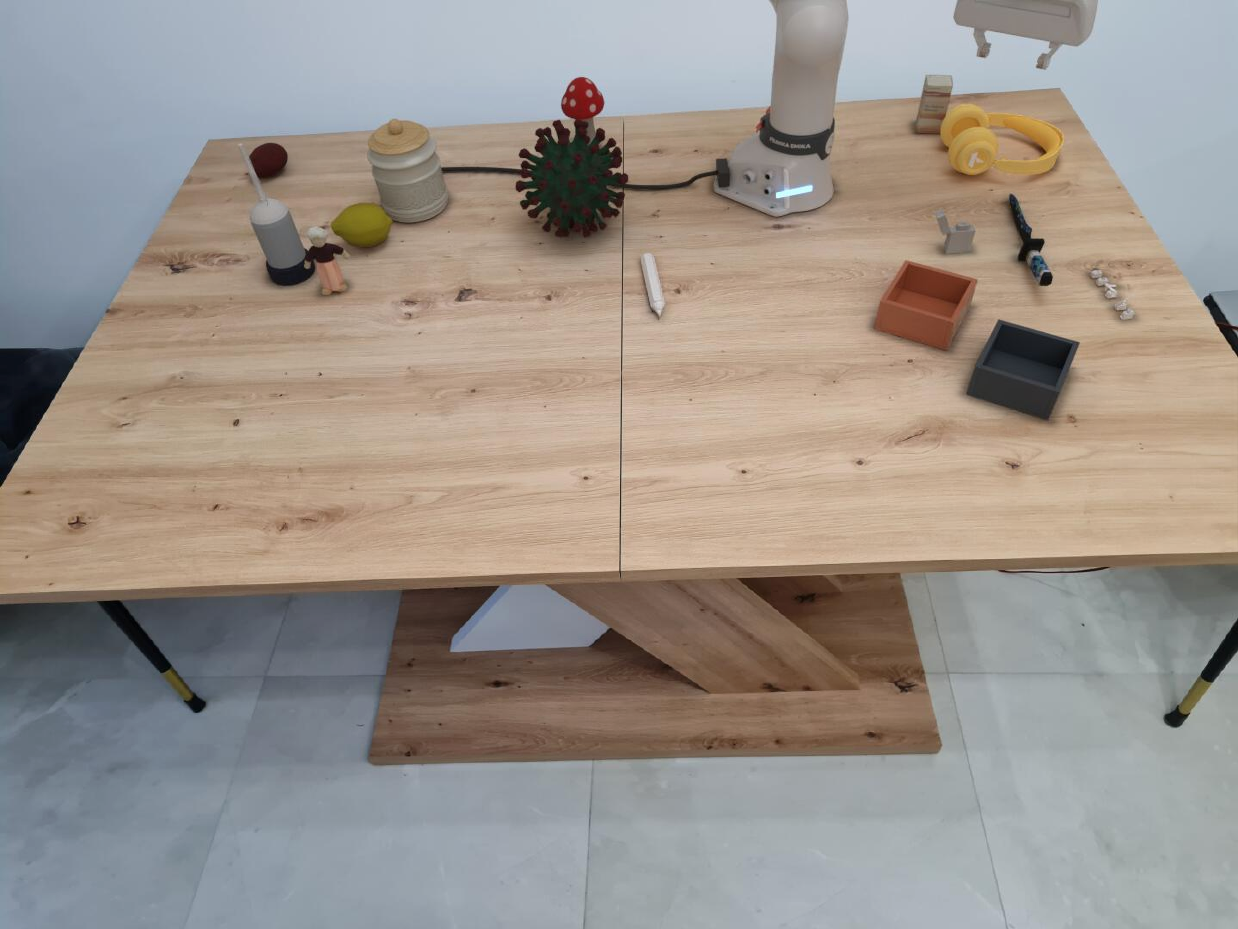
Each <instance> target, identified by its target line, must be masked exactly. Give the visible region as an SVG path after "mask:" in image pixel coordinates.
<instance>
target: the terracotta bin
mask: <svg viewBox="0 0 1238 929" xmlns="http://www.w3.org/2000/svg"><path fill="white" fill-rule="evenodd" d="M978 281H979V279H978V278H974V277H971V276H966V275H963V274H959V273H955V272H952V271H948V270H944V269H941V268H937V267H933V266H929V265H925V264H922V263H919V262H915V261H910V260H907V259H905V260H904V262H903V264H902V265H901V266H900V268H899V269H898V271H897V273H896V274H895V276H894V277H893V279H892V281H891V282H890V284H889V286H888V287H887V288H886V290H885V291H884V293H883V295H882V296H881V298H880V299H879V303H878V308H877V313H876V318H875V324H874V329H875V330H878V331H880V332H884V333H888V334H891V335H894V336H897V337H900V338H905V339H908V340H911V341H914V342H916V343H920V344H923V345H927V346H930V347H934V348H937V349H940V350H944V351H948V349H949V348H950V346H951V344H952V342H953V340H954V339H955V337H956V335H957V333H958V332H959V329H960V327H961V325H962V323H963V321H964V320H965V318H966V316H967V314H968V312H969V310H970V308H971V305H972V301H973V298H974V295H975V292H976V287H977V284H978Z"/></svg>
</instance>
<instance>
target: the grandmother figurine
mask: <svg viewBox="0 0 1238 929" xmlns="http://www.w3.org/2000/svg"><path fill="white" fill-rule="evenodd" d="M306 237H307V239H308V240H309V241H310V243H311V246H310V247H309V249H307V250H308V252H307V254H306V257H305V264H304V267H305V268H306V269H309V268H310V264H311V261H315V268H316V271H317V275H318V279H319V281H320V284H321V287H322V289H321V292H320V293H321V295H322V296H330V295H331V294H332V293H333V292H337V293H343V292H345V291H347V289H348V286H347V285H346V283H345V280H344V276H343V274H342V269H341V267H340V264H339V262H338V260H337V257H336V256H335V255H338V256H341V257H342V258H343V259H345V260H349V259H350V254H349V253H347V251H346V250H345V248H344V246H343V247H342V246H340V245H338V244H335V243H329V242H327V240H328V237H329V235H328V231H326V230H325V229H324V228H323V227H320V226H317V225H315V226H312V227H310V228H309V229H307V231H306Z"/></svg>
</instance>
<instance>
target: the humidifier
mask: <svg viewBox="0 0 1238 929" xmlns="http://www.w3.org/2000/svg"><path fill="white" fill-rule="evenodd" d="M237 146H238V149H239V151H240V154H241V156H242V159H243V161H244V164H245V167H246V169H247V171H248V173H249V176H250V179H251V182H252V184H253V187H254V188H255V191H256V194H257V196H258V201H256V202H255V204H253V206H252V207H251V209H250V211H249V221H250V224H251V227H252V229H253V232H254V234H255V236H256V238H257V241H258V243H259V245H260V248H261V250H262V251H263V254H264V257H265V259H266V260H265V267H266V272H267V273H268V274H267V275H268V276H269V278H270V280H271V282H272V283H273V284H275V285H277V286H280V287H281V286H282V287H292V286H296V285H299V284H301V283H304V282H306V281H307V280H308V279H311V277H312V276H313V275H314V273H315V271H316V263H315V262H314V261H315V260H313V261H311V264H310V268H309V269H306V268H305V267H304V264H305V257H306V254H307V252H308V250H309V249H307V248H305V246H304V244H303V242H302V239H301V237H300V234H299V231H298V229H297V227H296V224H295V222H294V218H293V217H292V214H291V211H290V210H289V208H288V206H287V205H286V204H285V203H283V202H282V201H280V200H278V199H275V198H272V197H271V198H270V197H267V196H266V194H265V192H264V190H263V186H262V183H261V181H260V178H258V177H256V176H257V175H256V173H255V171H254V168H252V167H253V165H251V164H252V163H250V162H251V160H250V158H249V156H250V155H249V154H248V151H247V150H246V149H245V147H244V144H243V143H242V142H241V143H238V144H237ZM249 160H250V161H249Z"/></svg>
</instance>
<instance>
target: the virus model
mask: <svg viewBox="0 0 1238 929" xmlns="http://www.w3.org/2000/svg"><path fill="white" fill-rule="evenodd" d="M551 124H552V125H551V126H552V128H554V131H555V133H556V136H557V142H556V140H555V138H554V137H553V135H552V133H553V132H552V128H551V127H549V126H545V127H544V128H542V127H539V128H537V129H536V130H535V132H534V135H535V136H536V137H538V139H537V141H536V143H535V145H534V148H533V149H534V151H535V153H539V154H540V155H541V156H542V157H540V156H538V155H535V154H533V153H531V152H530V151H529V150H528V149H527V148H524V147H523V148H522V149H520V150H519V152H518V157H519V159H525V160H522V162H521V163H520V166H519V167H520V169H521V171H520V173H519V174H520V177H521V179H528V178H530V179H531V180H527V181H523V180H520V179H519V180H517V181H515V190H516V192H518V193H519V194H520V193H522V192H523V191H526V190H527V191H526V193H525V194H524V198H525V199H521V200H520V201H519V204H520V207H521V210H528V211H527V212H526V214H527V216H528V217H529V218H530V219H531V220H532V219H535V220H536V219H538V217H539V215H540V214H541V213H542V212H544V211H545V210H546V209H549V211H548V212H547V213H546V218H547V220H546V222H545V223H544V224H543V225H542V226H541V230H542V231H543V232H545V233H547V234H549V233H550V231H551V230H552V225H553V226H554V227H555V228H557V229H556V231H555V232H554V237H556V238H560V239H561V238H569V237H570V230H569V229H572V231H573V232H574V233H575V234H580V233H581V232H582V237H583V238H584V239H586V238H590V237H591V236H592V233H596V232H597V231H598V229H599V230H601V231H604V230H605V229H607V228H608V225H607V223H606V222H605V221H603V220H602V219H607V218H609V219H611V218H612V217H614V218H617V217H618V216H619V215H620V214H621V212H620V210H619V209H621V208H622V206H623V205H624V200H625V197H626V194H625V192H623V191H618V192H617V191H615V190H613V189H610V188H608V187H607V186H606V185H608V184H610V183H618V184H621V185H623V186H624V185H625V184H628V183H629V174H628V173H626V172H623V173H622V172H618V171H617V172H615V173H613V170H611V169H619V168H620V167H622V164H623V156H622V154H623V153H622V149H621V148H620V147H619V146H617V141H616V140H615V138H613V137H610V138H608V140H607V141H606V143H605V144H604V145H603V146H602V147H601V146H600V147H599V143H600V144H601V143H602V142H604V141H605V140H606V130H604V128H602V127H598V128H595V132H596V135H595V137H594V139H593V140H592V142H591V143H590V144H589V142H590V137H589V136H588V135H587V132H588V131H587V128H588V122H585V121H582V120H578V119H577V120H575V119H574V121H573V125H574V137H573V139H572V140H571V141H570V136H571V130H570V128H567V127H565V126H564V124H563V122H562V121H561V119H556V120H553V122H552V123H551ZM588 144H589V145H588ZM611 148H613V149H612V150H610V149H611ZM527 160H528V161H527ZM529 161H530V162H531V163H530V162H529ZM532 163H533V164H532ZM529 170H531V171H529ZM532 171H534V172H532ZM531 190H532V191H531ZM609 203H612V204H613V205H614V206H615V207H616V208H615V207H612V206H611V205H610V204H609ZM530 206H533V207H534V208H532V209H528V208H529V207H530ZM598 211H599V213H600V215H601V217H600V215H599V213H598ZM601 218H602V219H601ZM595 220H596V222H597V223H598V225H597V224H596V223H595ZM587 223H588V225H587Z"/></svg>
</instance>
